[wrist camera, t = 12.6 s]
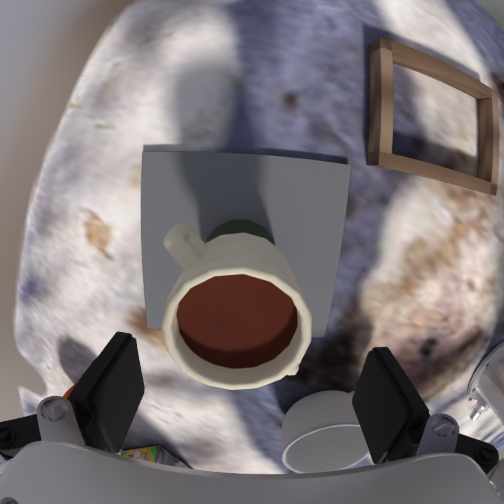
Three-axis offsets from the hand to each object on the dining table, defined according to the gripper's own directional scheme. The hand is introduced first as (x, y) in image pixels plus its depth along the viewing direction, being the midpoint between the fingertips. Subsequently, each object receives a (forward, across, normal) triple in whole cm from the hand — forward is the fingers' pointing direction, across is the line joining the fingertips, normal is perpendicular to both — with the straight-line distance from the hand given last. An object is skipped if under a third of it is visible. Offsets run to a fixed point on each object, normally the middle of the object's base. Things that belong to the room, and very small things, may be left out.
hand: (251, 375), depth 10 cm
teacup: (+17, -11, +18) cm, 27 cm away
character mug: (+16, +1, 0) cm, 16 cm away
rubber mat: (+16, +1, 0) cm, 16 cm away
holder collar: (+16, -18, -16) cm, 29 cm away
